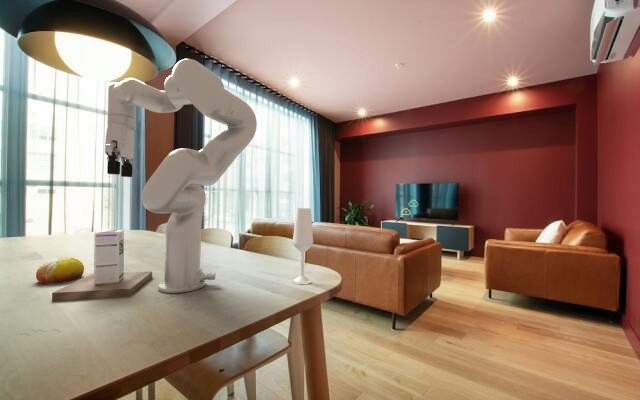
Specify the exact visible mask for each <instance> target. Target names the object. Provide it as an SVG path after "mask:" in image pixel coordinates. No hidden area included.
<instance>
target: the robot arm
mask: <svg viewBox="0 0 640 400" xmlns="http://www.w3.org/2000/svg"><path fill="white" fill-rule="evenodd" d="M163 86H164V90H160V89H158V88H156V87H154V86H151V85H149V84H148V83H144V82H142V81H141V80H138V79H136V78H133V77H128V78H125V79H124V80H122V81H120V82H112V83H110V84H109V85H108V88H107V90H108V94H107V95H108V96H107V124H106V125H107V129H106V133H105V144H104V154H105V155H106V156H107V157H106V159H107V168H106V170H107V171H106V173H107V174H108V175H115V176H116V175H117V176H119V175H120V176H121V177H122V178H123V177H124V178H132V177H133V167H134V166H133V165H134V154H135V139H134V132H135V130H136V127H137V107H138V108H139V107H140V108H143V109H146V110H147V111H150V112H154V113H158V114H159V113H160V114H168V113H175V112H178V111H179V110H181V109H182V108H183V107H184V105H185V106H186V105H193V106H194V107H195V108H196V109H197V110H198V112H200V113H201V114H202V115H203V116H205V117H207V118H209V119H210V120H213V121H216V122H217V123H220V124H222V125H224V126H226V127H225V128H224V129H222V130H221V131H219V132H218V131H217V133H216V134H214V135H213V136H212V137H211V138H210V139H209V140H208V142H207V143H206V144H205V145H204V146H203V148H201V149H200V150H195V149H193V148H192V149H191V148H187V147H186V148H185V147H184V148H177V149H175V150H173V151H170V152H169V153H168V155H167V156H166V157H165V158H163V160H162V162H161V163H160V164H159V166H158V167H157V168H156V169H155V171H154V172H153V173H152V175H151V176H150V177H149V179H148V180H147V181H146V183H145V185H144V187H143V189H142V192H141V203H142V205H143V207H144V208H145V209H146V210H147V211H149V212H151V213H154V214H170V215H169V216H170V217H169V218H168V220H167V223H166V226H165V239H164V240H165V243H164V244H165V245H164V246H165V247H164V249H165V250H164V281H161V282H160V283H159V284H158V285H157V289H158V291H159V292H162V293H167V294H169V293H170V294H179V293H186V292H192V291H196V290H199V289H201V288H203V287H204V286H206V280H207V281H208V280H209V281H215V280H216V272H212V271H210V272H209V271H208V272H205V271H203V268H202V267H201V258H202V256H201V253H202V252H201V248H202V223H203V222H202V221H203V214H204V211H205V205H206V199H207V198H206V192H205V189H204V188H203V187H208V186H213V185H215V184H216V183H217V182H218V181H219V180H220V178H222V176H223V175H224V174H225V172H226V171H227V170H229V169H228V168H229V167H230V166H231V165H232V164H233V162H234V161H235V160H236V158H238V156H239V155H240V154H241V153H242V152H243V150H244V149H246V147H247V146H248V145H249V144H250V143H251V141H252V140H253V139H254V137H255V135H256V131H257V127H258V126H257V124H258V123H257V116H256V114H255V112H254V110H253V109H252V107H251V106H250V105H249V104H248V103H247V102H245V101H244V100H243V99H242V98H240V97H239V96H237V95H235V94H233V93H232V92H230V91H228V90H227V89H225V85H224V83H223V80H222V78H220V76H218V75H217V74H216V73H215V72H213V71H212V70H211V69H209V68H208V67H206V66H205V65H203V64H202V63H200V62H199V61H197V60H196V59H191V58H184V59H181V60H179V61H178V62H177V63H176V64H175V65H174V66H173V69H172V72H171V75H169V76H168V77H166V79H165V81H164V85H163ZM121 163H122V164H121Z"/></svg>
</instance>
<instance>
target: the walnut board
mask: <svg viewBox="0 0 640 400" xmlns="http://www.w3.org/2000/svg"><path fill="white" fill-rule="evenodd" d="M152 278H153V271H134V272H133V271H129V272H128V271H127V272H124V277H123V278H122V279H121V280H120V281H119V282H117V283H107V284H94V273H89V274H88V275H86V276H84V277H81V278H79V279H77V280H75V281H74V282H72V283H69V284H67V285H65V286H63V287H61V288H59V289H57V290H55V291H53V292H52V293H51V301H52V302H53V301H54V302H58V301H70V300H71V301H72V300H88V299H89V300H90V299H91V300H92V299H104V298H121V297H122V298H123V297H131V296H133V294H135V292H137V291H138V290H139V289H141V288H142V287H143V286H144V285H145V284H146V283H147V282H149V281H150V280H151V279H152Z"/></svg>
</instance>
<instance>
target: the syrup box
mask: <svg viewBox="0 0 640 400" xmlns="http://www.w3.org/2000/svg"><path fill="white" fill-rule="evenodd" d="M124 231H125V230H123V229H106V230H100V231H97V232H95V233H94V244H93V245H94V246H93V247H94V252H93V253H94V256H93V260H94V264H93V265H94V269H93V270H94V271H93V272H94V273H93V274H94V284H107V283H117V282H119V281H120V280H121V279H122V278H123V277H124V273H125V270H124V266H125V265H124V261H125V260H124V255H125V254H124V253H125V248H124V245H125V244H124V240H125V239H124V238H125V232H124Z"/></svg>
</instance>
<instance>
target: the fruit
mask: <svg viewBox="0 0 640 400" xmlns="http://www.w3.org/2000/svg"><path fill="white" fill-rule="evenodd" d="M84 271H85V266H84V264H83V262H82V261H81V260H79V259H78V258H74V257H68V258H61V259H57V260H53V261H50V262H46V263H43V264H42V265H41V266H40V267H38V269H37V271H36V272H35V278H36V280H37V281H38V282H39V283H40V284H42V285H43V284H44V285H50V284H51V285H53V284H55V285H56V284H63V283H66V282H67V283H68V282H72V281H77V280H80V279H81V278H82V276H83V274H84Z"/></svg>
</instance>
